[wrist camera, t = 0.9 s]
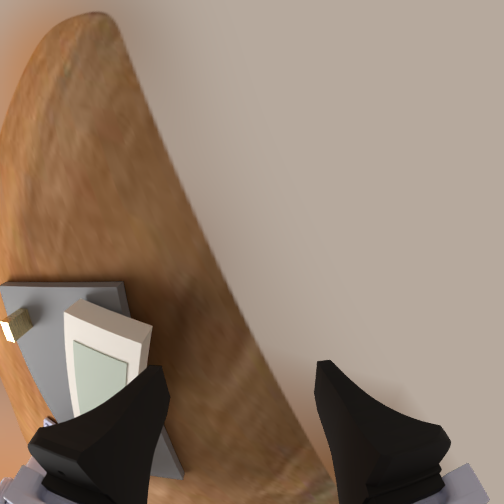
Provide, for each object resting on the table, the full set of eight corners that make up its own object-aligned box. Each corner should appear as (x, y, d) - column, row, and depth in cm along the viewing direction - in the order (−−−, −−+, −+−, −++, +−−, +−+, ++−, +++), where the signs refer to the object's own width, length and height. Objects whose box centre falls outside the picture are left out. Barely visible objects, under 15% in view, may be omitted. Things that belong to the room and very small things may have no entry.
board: (184, 472, 21) (179, 498, 18) (86, 453, 21) (75, 474, 18) (123, 281, 16) (97, 304, 12) (6, 281, 16) (-21, 296, 13)
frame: (138, 468, 19) (133, 484, 17) (92, 449, 19) (84, 464, 17) (152, 325, 15) (140, 345, 13) (80, 298, 15) (61, 313, 13)
